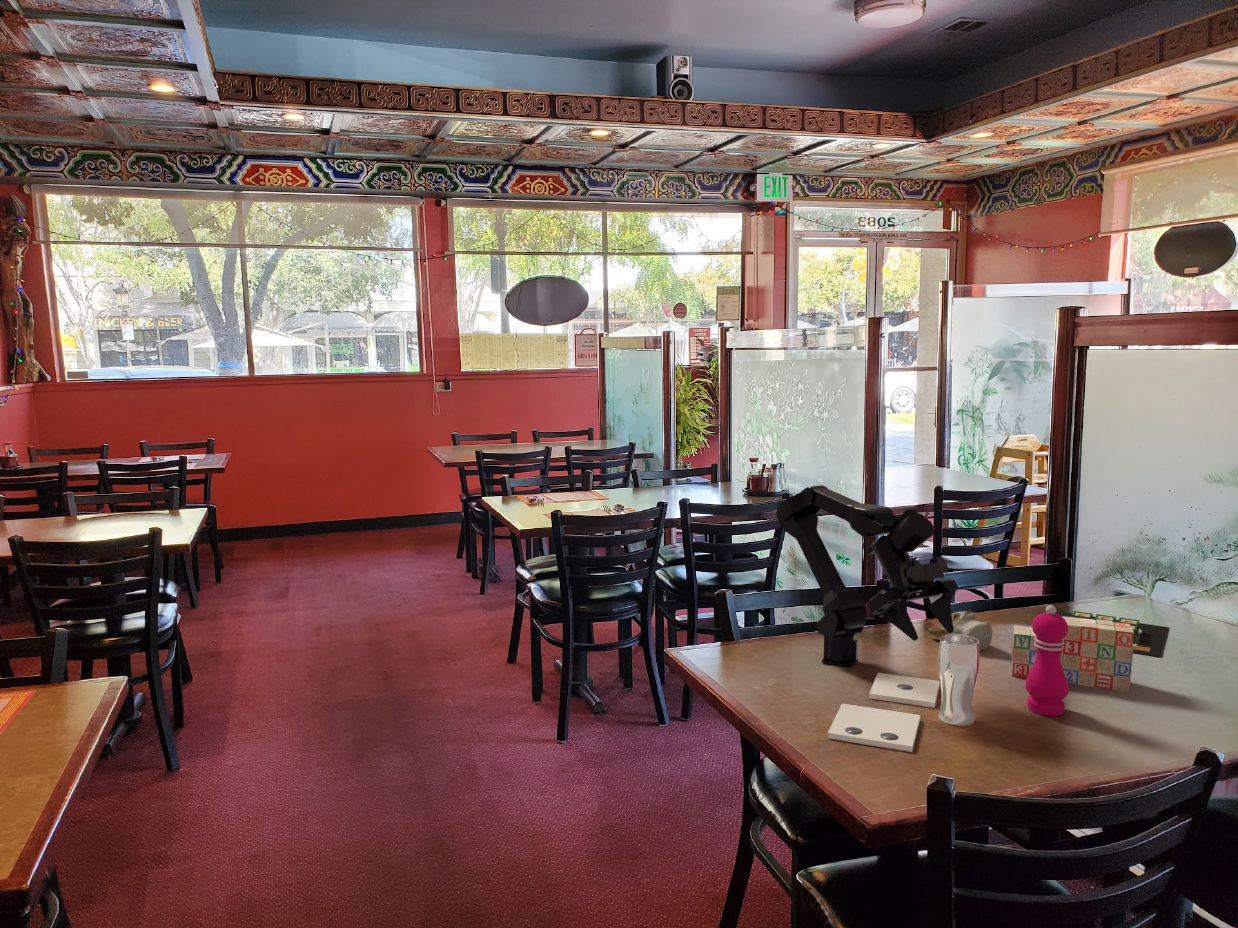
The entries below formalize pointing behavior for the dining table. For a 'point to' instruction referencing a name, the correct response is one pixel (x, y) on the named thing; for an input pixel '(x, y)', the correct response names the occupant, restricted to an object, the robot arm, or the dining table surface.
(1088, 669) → the stack of blocks
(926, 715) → the dining table surface
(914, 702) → the one-dot tile
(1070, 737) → the dining table surface
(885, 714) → the two-dot tile
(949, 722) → the beer glass
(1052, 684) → the pepper mill
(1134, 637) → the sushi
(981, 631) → the ceramic sculpture
